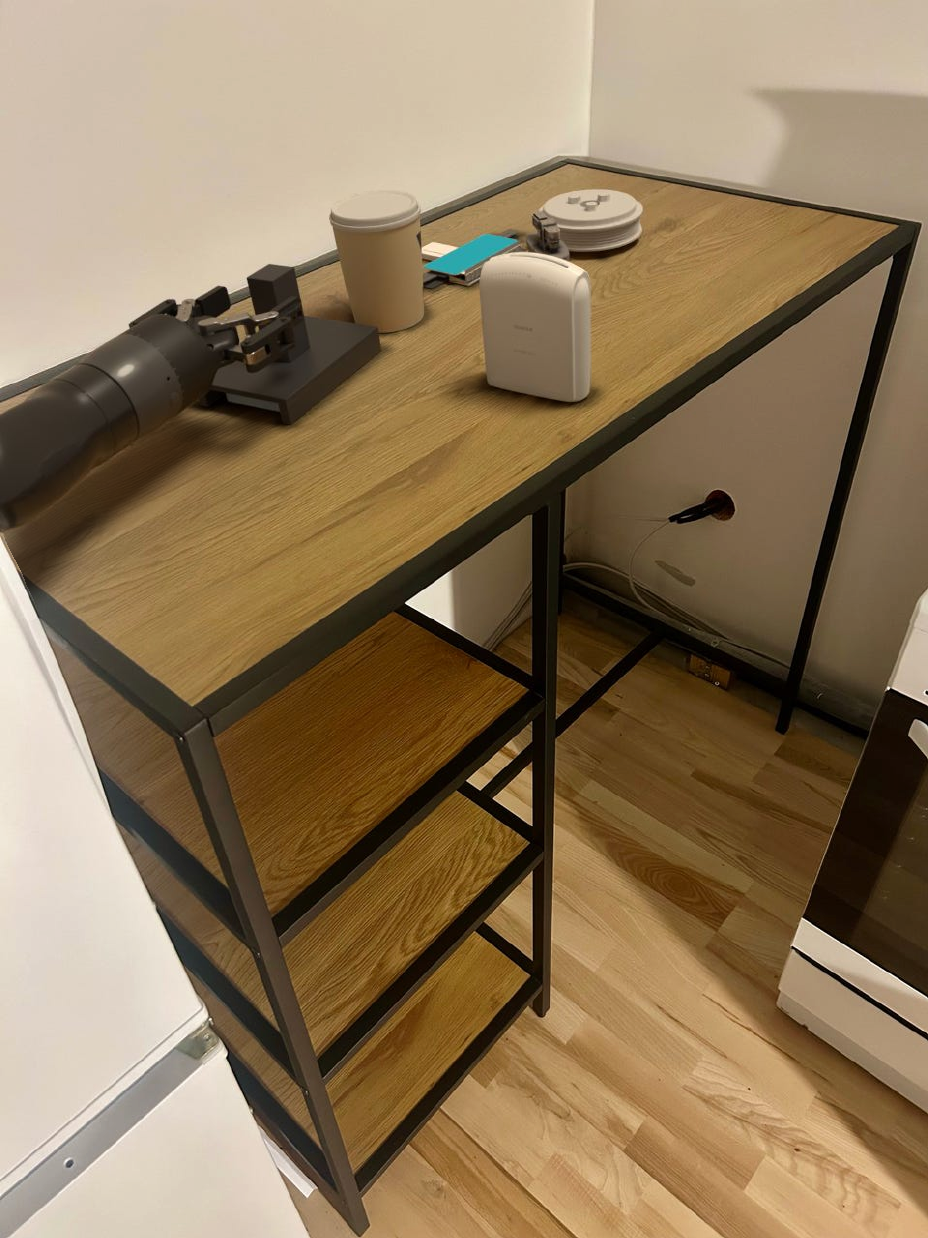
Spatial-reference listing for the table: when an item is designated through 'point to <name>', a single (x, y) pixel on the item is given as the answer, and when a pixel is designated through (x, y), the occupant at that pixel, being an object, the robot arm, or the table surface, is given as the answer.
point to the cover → (297, 353)
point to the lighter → (546, 237)
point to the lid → (595, 219)
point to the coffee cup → (381, 257)
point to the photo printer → (537, 325)
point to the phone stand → (465, 258)
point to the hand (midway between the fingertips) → (261, 300)
